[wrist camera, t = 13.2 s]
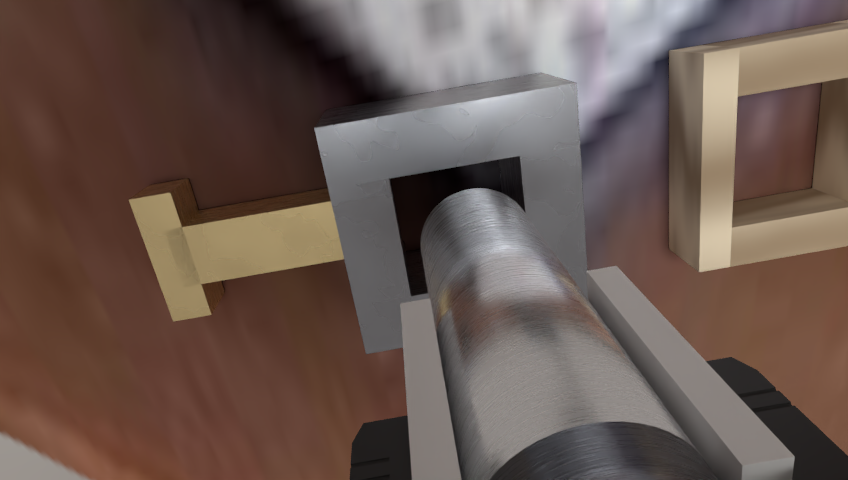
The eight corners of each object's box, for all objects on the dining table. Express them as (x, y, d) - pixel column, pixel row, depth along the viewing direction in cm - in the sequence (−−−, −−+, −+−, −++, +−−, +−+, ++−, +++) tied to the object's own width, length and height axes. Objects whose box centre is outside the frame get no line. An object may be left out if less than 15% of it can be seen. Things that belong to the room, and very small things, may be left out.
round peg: (411, 199, 19) (490, 667, 5) (526, 179, 19) (892, 596, 5) (429, 300, 21) (526, 868, 7) (535, 281, 21) (841, 810, 7)
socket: (326, 109, 26) (314, 128, 21) (540, 72, 26) (576, 82, 21) (368, 301, 29) (366, 354, 25) (556, 268, 29) (589, 314, 25)
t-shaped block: (149, 184, 26) (128, 199, 24) (382, 144, 26) (382, 155, 24) (189, 298, 28) (173, 321, 26) (404, 260, 29) (406, 280, 26)
